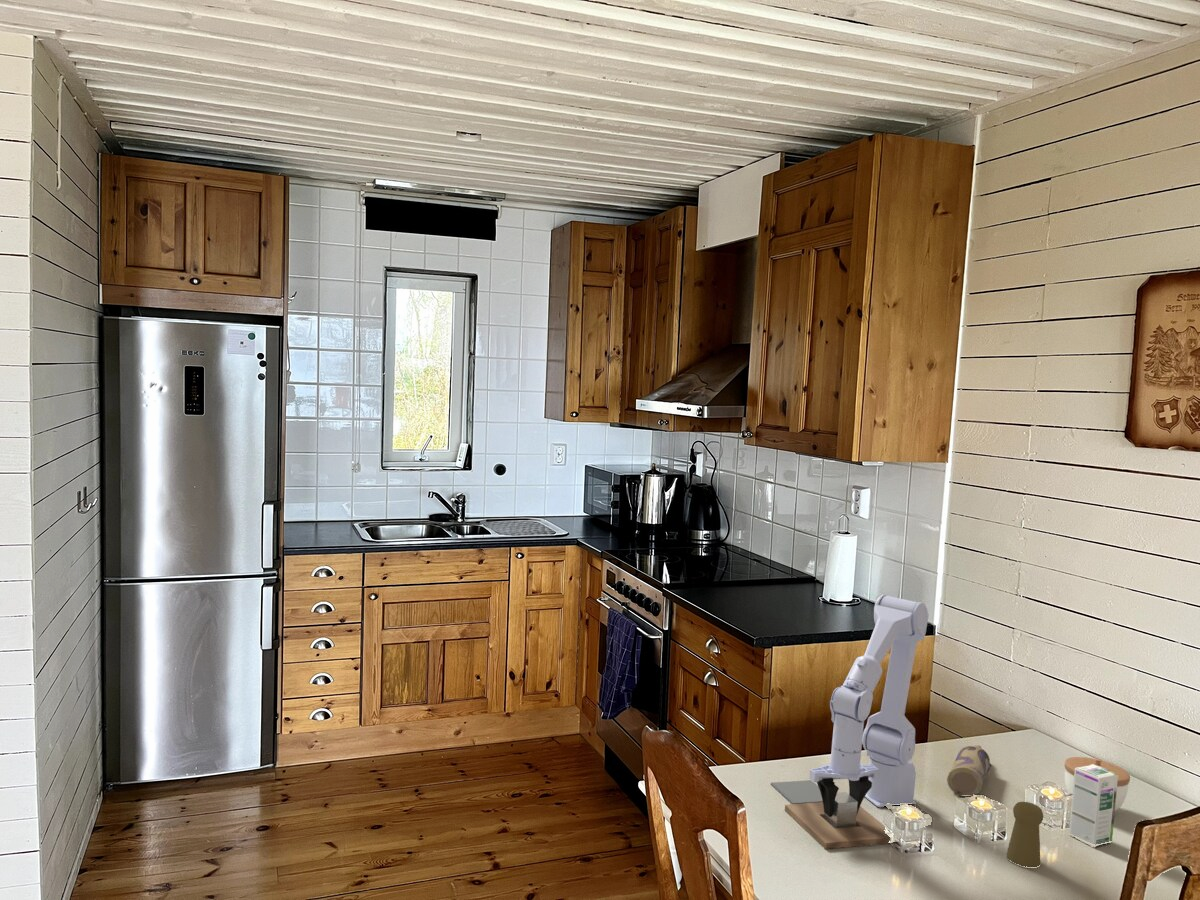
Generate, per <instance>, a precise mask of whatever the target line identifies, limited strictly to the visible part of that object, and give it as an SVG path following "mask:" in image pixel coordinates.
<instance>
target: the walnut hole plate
mask: <svg viewBox="0 0 1200 900" xmlns="http://www.w3.org/2000/svg"><path fill="white" fill-rule="evenodd" d="M784 811H785V812H786V813H787V814H788V815H789V816H790V817H791V818H792V819H793V820H794V821H795V822H796V823H797V824H798V825H799V826H800V827H801V828H802V829H804V831H805V832H806V833H808V835H810V836H811V837H812V838H813V839H814V840H815V841H816V842H817V843H818V844H819V845H820V844H821V845H822V846H823V847H824V848H823V847H822V848H823V849H824V850H831V849H830V848H833V849H841V847H845V848H852V847H851V846H856V847H863V846H862V845H867V846H872V845H871V844H879V845H886V844H885V843H888V842H889V840H890V837H889V836H888V835H887V834H885V831H884V830H885V827H886V826H885V825H884V824H883V823H882V822H880V821H879V820H878V819H877V818H876V817H874V816H873V815H871V813H869V812H868V811H867V810H866V809H865V808H863V807H862V806H861V805H860V808H859V810H858V813H857V815H856V826H855V827H848V828H836V829H835V828H834V827H833V826H831V825H830V824H829V823H828V822H827V821H826V820H825V819H824V817H825V813H824V806H823V802H817V803H803V804H791V803H790V804H784ZM860 845H861V846H860Z"/></svg>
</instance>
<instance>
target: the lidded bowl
mask: <svg viewBox="0 0 1200 900" xmlns="http://www.w3.org/2000/svg"><path fill="white" fill-rule="evenodd" d="M1092 764H1094V765H1096V766H1100V767H1103V768H1105V769H1108V770H1110V771H1112V772H1114V773H1116V774H1117V775H1118V781H1117V792H1116V803H1115V811H1117V810H1119V809H1120V808H1121V807H1122V806H1123V804H1124V803H1125V800H1126V799H1127V795H1128V791H1129V785H1130V780H1131V776H1130V774H1129V772H1127V770H1125V769H1124V768H1122V767H1120V766H1118V765H1116V764H1114V763H1111V762H1108V761H1105V760H1101V759H1099V758H1092V757H1085V756H1074V757H1072V756H1071V757H1069V758H1066V759H1065V761H1064V773H1063V774H1064V777H1063V778H1064V787H1065V791H1066V793H1067V794H1068V793H1072V794H1073V784H1074V773H1075V768H1077V767H1078V768H1079V767H1084V766H1089V765H1092Z"/></svg>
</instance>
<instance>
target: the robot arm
mask: <svg viewBox="0 0 1200 900" xmlns="http://www.w3.org/2000/svg"><path fill="white" fill-rule="evenodd" d="M873 620H874V624H875V625H874V628H873V631H872V633H871V637H870V639H869V642H868V644H867V646H866V648H865V652H864V653H863V654H864V655H861V656H857V657H856V658H855V660H854V662H853V664H852V666H851V668H850V670H849V671H848V674H847V675H846V678H845V679H844V682H843V684H842V685H840V686H837V687H836V688H835V689H834V690H833V692H832V695H831V698H830V700H829V708H830V712H831V722H832V723H833V731H832V740H831V751H830V752H831V753H830V761H829V764H826V765H822V766H820V767H816V768H815V767H814V768H810V769H809V780H811V781H813V782H814V783H816V785H817V786H818V787H819V789H820V792H821V796H822V800H823V806H824V813H825V814H826V815H828V816H829V817H832V816H833V812H834V803H835V798H836V795H837V793H839V789H840V787H838V785H836V783H835V781H834V780H848V788H849V789H848V790H849V791H848V792H849V793H848V794H849V795H850V796H851V797H852V798H854V799H855V800H856V801H857V802H858V804H857V813H858V810H859V808H860V806H861V804H862V802H863V800H864V799H865V798H866V799H867V800H868V801H869V802H870V803H872V804H873V805H875V806H876V807H878V808H885V807H884V806H885V805H886V804H887V803H890V804H900V803H912V804H915V805H916V801H914V797H915V788H916V787H915V786H916V776H917V773H916V768H915V765H914V763H913V762H912V758H913V756H914V754H915V749H916V728H915V726H914V725H913V724H912V723H911V722H910V721H909V720H908V718H907V717H906V715H905V713H906V708H907V701H908V696H909V690H910V685H911V678H912V674H913V673H912V672H913V665H914V661H915V654H916V649H917V644H918V642H920V641H924V640H925V636H926V633H927V627H928V621H929V611H928V608H927V606H926V604H925V603H924V602H923V601H920V602H917V601H914V600H909V599H904V598H899V597H896V596H890V595H888V594H884V593H883V594H881V595H880V596H879V597H877V599H876V601H875V603H874V607H873ZM890 649H891V650H890ZM889 651H890V655H889V660H888V667H887V672H886V679H885V684H884V689H883V695H882V701H881V707H880V711H878V712H876V713H874V714H872V715H870V712H871V708H872V702H873V699H874V695H873V693H874V691H875V689H876V687H877V684H878V682H879V681H880V679H881V676H882V674H883V668H882V665H881V663H882V662H883V660H884V658H885V657H886V656H887V653H888V652H889ZM869 715H870V716H869ZM866 719H867V721H866V722H867V723H866V725H864V724H865V720H866ZM864 726H865V728H864ZM862 747H863V749H864V750H865V751H866V756H868V757H869V759H868V761H869V762H868V764H861V759H862Z"/></svg>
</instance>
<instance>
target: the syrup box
mask: <svg viewBox="0 0 1200 900" xmlns="http://www.w3.org/2000/svg"><path fill="white" fill-rule="evenodd" d="M1117 781H1118V775H1117V774H1116V773H1114V772H1112V771H1110V770H1108V769H1105V768H1103V767H1100V766H1096V765H1094V764H1092V765H1089V766H1084V767H1079V768H1078V767H1077V768H1075V773H1074V784H1073V795H1072V800H1071V808H1070V819H1069V821H1070V822H1069V830H1068V834H1069V833H1071V834H1073V835H1074V836H1077V837H1079V838H1081V839H1083V840H1085V841H1087V842H1090V843H1092V844H1095V845H1096V844H1101V843H1105V842H1109V841H1112V842H1113V836H1114V835H1113V834H1114V821H1115V813H1116V812H1115V803H1116V792H1117Z"/></svg>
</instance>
